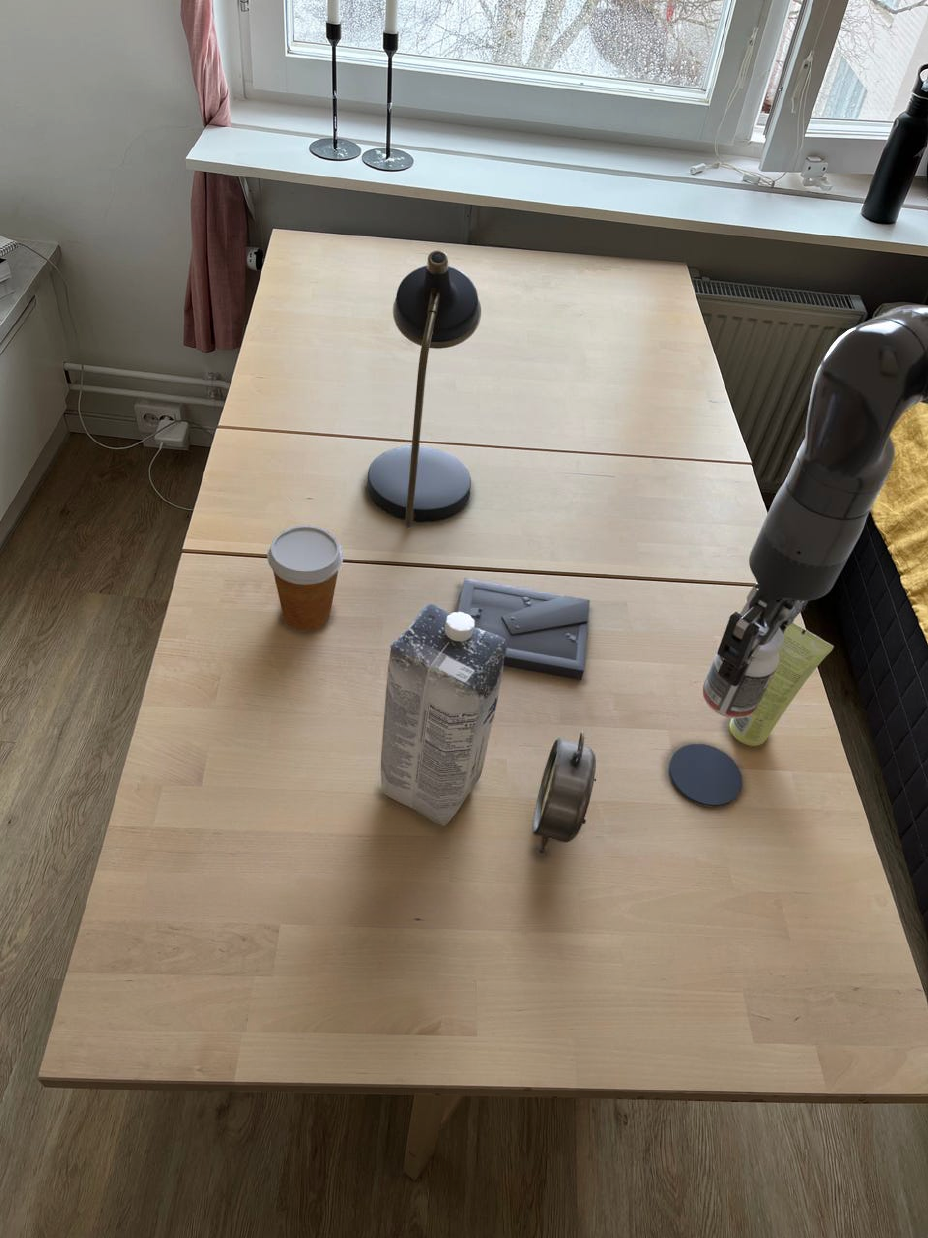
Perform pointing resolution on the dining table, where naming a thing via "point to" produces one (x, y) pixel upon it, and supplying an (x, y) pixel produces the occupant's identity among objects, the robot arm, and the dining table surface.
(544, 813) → the alarm clock
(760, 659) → the pill bottle
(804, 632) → the tube
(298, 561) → the disposable coffee cup
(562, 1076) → the dining table surface
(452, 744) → the juice carton
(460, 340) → the lamp
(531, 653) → the picture frame
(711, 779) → the coaster
